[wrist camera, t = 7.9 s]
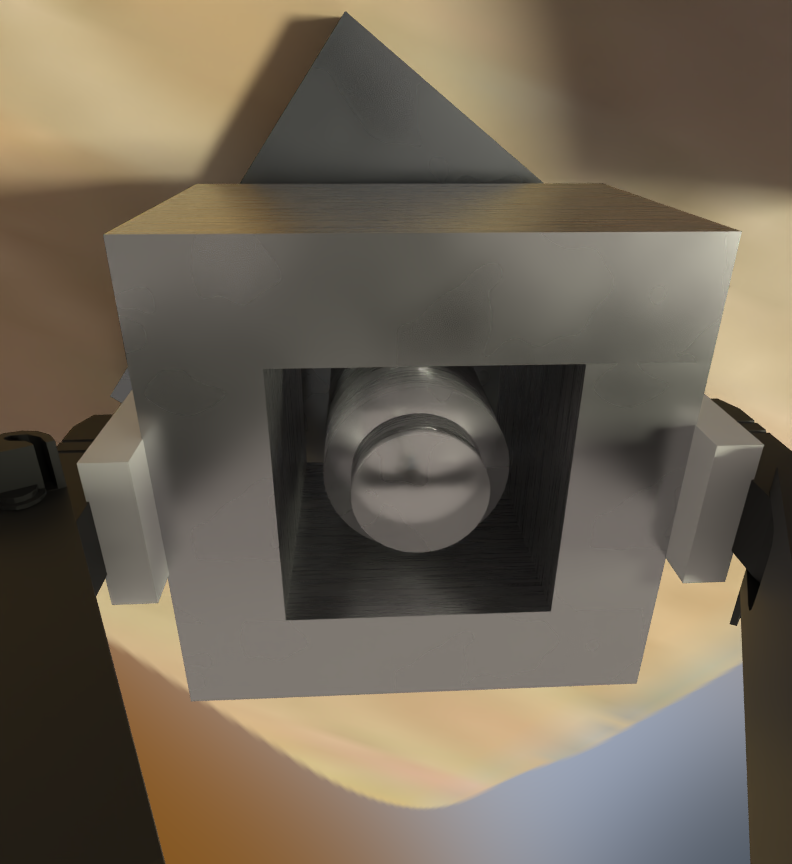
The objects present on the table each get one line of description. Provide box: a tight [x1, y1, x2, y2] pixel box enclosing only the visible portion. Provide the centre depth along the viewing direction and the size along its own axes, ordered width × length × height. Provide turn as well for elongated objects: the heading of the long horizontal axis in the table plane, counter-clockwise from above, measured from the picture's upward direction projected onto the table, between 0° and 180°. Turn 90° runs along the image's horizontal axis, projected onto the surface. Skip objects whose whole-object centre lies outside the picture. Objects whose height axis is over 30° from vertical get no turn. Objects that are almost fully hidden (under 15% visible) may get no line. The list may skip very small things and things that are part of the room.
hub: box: [110, 11, 544, 553], centre depth 15 cm, size 11×11×8 cm
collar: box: [103, 183, 742, 701], centre depth 14 cm, size 9×9×6 cm
